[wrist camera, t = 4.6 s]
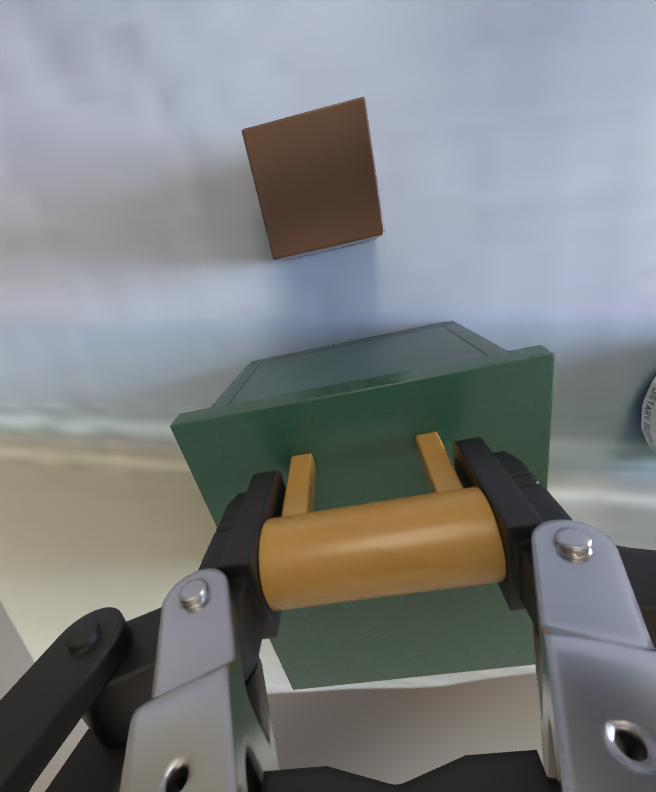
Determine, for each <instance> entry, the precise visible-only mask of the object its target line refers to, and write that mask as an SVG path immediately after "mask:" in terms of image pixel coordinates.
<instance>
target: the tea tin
mask: <svg viewBox="0 0 656 792" xmlns="http://www.w3.org/2000/svg"><path fill="white" fill-rule="evenodd" d="M502 352H507V350H505V349H503V348H502V347H500V346H498V345H496V344H494V343H492V342H491V341H489V340H487V339H485V338H483V337H482V336H480V335H478V334H476V333H474V332H472V331H471V330H469V329H467V328H465V327H463V326H462V325H460V324H458V323H456V322H454V321H450V322H445V323H440V324H435V325H430V326H425V327H420V328H415V329H410V330H405V331H400V332H395V333H390V334H385V335H381V336H376V337H371V338H366V339H361V340H356V341H351V342H346V343H341V344H336V345H331V346H326V347H321V348H316V349H311V350H307V351H302V352H297V353H292V354H287V355H282V356H277V357H272V358H267V359H262V360H257V361H252V362H251V363H250V364H249V365H248V366H247V367H246V368H245V369H244V370H243V371H242V373H241V374H240V375H239V376H238V377H237V378H236V379H235V380H234V382H233V383H232V384H231V385H230V386H229V387H228V388H227V390H226V391H225V392H224V393H223V394H222V395H221V396H220V398H219V399H218V400H217V401H216V402H215V403H214V404H213V405H212V407H211V408H214V407H220V406H225V405H230V404H235V403H241V402H246V401H251V400H256V399H262V398H267V397H272V396H277V395H282V394H288V393H293V392H298V391H303V390H309V389H314V388H319V387H324V386H329V385H335V384H340V383H345V382H350V381H356V380H361V379H366V378H371V377H376V376H382V375H387V374H392V373H397V372H403V371H408V370H413V369H418V368H423V367H429V366H434V365H439V364H444V363H450V362H455V361H460V360H465V359H471V358H476V357H481V356H486V355H491V354H497V353H502Z"/></svg>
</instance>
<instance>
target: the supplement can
mask: <svg viewBox="0 0 656 792" xmlns="http://www.w3.org/2000/svg"><path fill="white" fill-rule="evenodd" d="M641 429H642V432H643V434H644V436H645V438H646V441H647V443H648V445H649V447H650V448H651V449H652V450H654V451H655V452H656V377H655V378H654V379H653V380H652V382H651V384H650V387H649V389H648V391H647V394H646V396H645V398H644V400H643V405H642V418H641Z"/></svg>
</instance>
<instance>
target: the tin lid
mask: <svg viewBox="0 0 656 792" xmlns="http://www.w3.org/2000/svg"><path fill="white" fill-rule="evenodd" d="M554 356H555V355H554V353H553V352H551V351H549V350H548V349H546V348H545V347H543V346H541V345H538V346H533V347H528V348H523V349H518V350H512V351H507V352H502V353H497V354H491V355H486V356H481V357H476V358H471V359H465V360H460V361H455V362H450V363H444V364H439V365H434V366H429V367H423V368H418V369H413V370H408V371H403V372H397V373H392V374H387V375H382V376H376V377H371V378H366V379H361V380H356V381H350V382H345V383H340V384H335V385H329V386H324V387H319V388H314V389H309V390H303V391H298V392H293V393H288V394H282V395H277V396H272V397H267V398H262V399H256V400H251V401H246V402H241V403H235V404H230V405H225V406H220V407H214V408H209V409H204V410H199V411H194V412H188V413H183V414H179V415H178V416H177V418H176V419H175V420H174V422H173V423H172V424H171V426H170V427H171V429H172V432H173V434H174V436H175V438H176V440H177V442H178V444H179V446H180V449H181V451H182V453H183V455H184V457H185V459H186V461H187V464H188V466H189V468H190V470H191V472H192V474H193V476H194V479H195V481H196V483H197V485H198V487H199V489H200V491H201V493H202V496H203V498H204V500H205V502H206V504H207V506H208V508H209V511H210V513H211V515H212V517H213V519H214V521H215V523H216V526H217V527H218V525H219V523H220V521H221V518H222V516H223V514H224V511H225V509H226V507H227V505H228V504H229V503H230V502H231V501H232V500H233V499H234V498H235V497H236V496H237V495H238V494H239V493H244V492H247V489H248V487H249V484H250V482H251V479H252V476H253V475H254V474H257V473H263V472H269V471H275V470H279V471H280V473H281V475H282V478H283V481H284V484H285V488H286V493H285V499H284V505H283V510H282V516H281V517H275V518H270V519H268V520H266V521H265V523H264V525H263V527H262V530H261V534H260V541H259V554H258V558H259V574H260V581H261V587H262V591H263V595H264V598H265V600H266V603H267V605H268V606H269V608H270V609H271V610H274V611H280V610H282V612H281V618H280V624H279V630H278V636H277V637H276V638H269V639H270V641H271V643H272V645H273V647H274V650H275V652H276V654H277V656H278V658H279V660H280V662H281V664H282V667H283V669H284V671H285V673H286V675H287V677H288V679H289V682H290V684H291V686H292V688H293V690H295V689H305V688H314V687H324V686H333V685H343V684H352V683H362V682H371V681H381V680H390V679H400V678H409V677H419V676H428V675H438V674H447V673H457V672H466V671H476V670H485V669H495V668H504V667H514V666H523V665H532V664H535V653H534V641H533V622H532V620H531V618H530V616H529V614H528V612H527V610H526V609H523V610H514V611H510V609H509V607H508V605H507V602H506V600H505V598H504V596H503V594H502V592H501V590H500V588H499V585H498V582H503V581H504V580H505V578H506V558H505V551H504V546H503V542H502V538H501V534H500V531H499V527H498V524H497V521H496V518H495V516H494V513H493V511H492V508H491V506H490V504H489V502H488V500H487V498H486V496H485V495H484V493H483V492H482V491H481V489H480V488H478V487H468V488H464V487H463V485H462V483H461V481H460V479H459V477H458V475H457V473H456V471H455V468H454V458H453V447H452V445H453V441H457V440H463V439H469V438H475V437H481V438H482V439H483V441H484V442H485V443H486V444H487V446H488V447H489V448H490V450H491V451H492V452H493V453H494V452H500V451H505V452H507V453H509V454H511V455H513V456H515V457H517V458H518V459H520V460H521V461H522V462H523V463H524V464H525V465H526V467H527V468H528V469H529V470H530V471H531V474H533V475H534V476H535V477H536V478H537V479H538V481H539V483H540V484H542V485H543V486H544V487H545V489H546V490H547V479H548V462H549V444H550V427H551V409H552V392H553V374H554Z"/></svg>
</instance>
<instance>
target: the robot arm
mask: <svg viewBox="0 0 656 792" xmlns="http://www.w3.org/2000/svg"><path fill="white" fill-rule="evenodd" d="M452 447H453V458H454V468H455V471H456V473H457V475H458V477H459V479H460V481H461V483H462V485H463V487H464V488H468V487H478V488H480V489H481V491H482V492H483V493H484V495H485V496H486V498H487V500H488V502H489V504H490V506H491V508H492V511H493V513H494V516H495V518H496V521H497V524H498V527H499V531H500V534H501V538H502V542H503V546H504V551H505V558H506V578H505V580H504V581H503V582H498V585H499V588H500V590H501V592H502V594H503V596H504V598H505V600H506V602H507V605H508V607H509V609H510V611H514V610H523V609H526V610H527V612H528V614H529V616H530V618H531V620H532V622H533V641H534V653H535V664H536V675H537V687H538V698H539V709H540V720H541V730H542V731H541V732H542V748H543V765H542V762H541V760H540V757H539V755H538V752H537V750H529V751H515V752H503V753H491V754H479V755H478V754H477V755H465V756H463V757H461V758H459V759H457V760H454V761H452V762H450V763H448V764H446V765H443V766H441V767H439V768H436V769H435V770H432V771H430V772H428V773H426V774H423V775H421V776H419V777H416V778H414V779H412V780H410V781H408V782H405V783H403V784H397V785H393V784H388V783H385V782H381V781H378V780H374V779H370V778H367V777H363V776H360V775H356V774H353V773H349V772H346V771H342V770H339V769H335V768H331V767H328V766H324V767H310V768H299V769H285V770H281V768H280V765H279V761H278V756H277V752H276V747H275V740H274V734H273V729H272V722H271V717H270V710H269V704H268V698H267V692H266V686H265V680H264V674H263V668H262V663H261V660H260V658H259V651H260V646H261V641H262V639H267V638H276V637H277V636H278V630H279V624H280V618H281V612H282V610H280V611H274V610H271V609H270V608H269V606H268V605H267V603H266V600H265V598H264V595H263V591H262V587H261V581H260V574H259V558H258V554H259V541H260V534H261V530H262V527H263V525H264V523H265V521H266V520H268V519H270V518H275V517H281V516H282V510H283V505H284V499H285V493H286V488H285V484H284V481H283V478H282V475H281V473H280V471H279V470H275V471H269V472H263V473H257V474H254V475H253V476H252V479H251V482H250V484H249V487H248V489H247V492H244V493H239V494H238V495H237V496H236V497H235V498H234V499H233V500H232V501H231V502H230V503H229V504H228V505H227V507H226V509H225V511H224V514H223V516H222V518H221V521H220V523H219V525H218V527H217V529H216V530H217V532H215V534H214V536H213V538H212V540H211V543H210V545H209V547H208V549H207V552H206V554H205V556H204V558H203V561H202V563H201V565H200V567H199V570H198V571H196V572H194V573H192V574H190V575H188V576H186V577H185V578H183V579H182V580H181V581H179V582H178V583H177V584H176V585H175V586H174V587H173V588H172V589H171V590H170V592H169V593H168V594H167V596H166V598H165V599H164V602H163V604H162V607H161V608H159V609H157V610H154V611H152V612H149V613H147V614H144V615H142V616H139V617H137V618H135V619H132V620H130V621H127V622H126V620H125V619H124V617H123V615H122V613H121V612H120V611H119V610H118V609H116V608H112V607H107V608H102V609H98V610H95V611H93V612H91V613H89V614H87V615H85V616H83V617H82V618H80V619H79V620H77V621H76V622H74V623H73V624H72V625H71V626H69V627H68V628H67V629H66V630H65V631H64V632H63V633H62V634H61V635H60V636H59V637H58V638H57V639H56V640H55V641H54V643H53V644H52V645H51V646H50V647H49V648H48V649H47V650H46V651H45V652H44V653H43V655H42V656H41V657H40V658H39V659H38V660H37V661H36V662H35V663H34V664H33V665H32V667H31V668H30V669H29V670H28V671H27V672H26V673H25V674H24V675H23V676H22V677H21V678H20V680H19V681H18V682H17V683H16V684H15V685H14V686H13V687H12V688H11V689H10V690H9V692H8V693H7V694H6V695H5V696H4V697H3V698H2V699H1V700H0V792H29V791H30V789H31V787H32V786H33V784H34V783H35V781H36V780H37V779H38V777H39V776H40V774H41V773H42V772H43V770H44V769H45V767H46V766H47V765H48V763H49V762H50V760H51V759H52V758H53V756H54V755H55V754H56V752H57V751H58V749H59V748H60V747H61V745H62V744H63V742H64V741H65V740H66V738H67V737H68V735H69V734H70V733H71V731H72V730H73V729H74V727H75V726H76V724H77V723H78V721H79V720H80V719H81V717H82V719H83V720H84V721H85V723H86V724H87V726H88V727H89V729H88V730H87V732H86V733H85V735H84V736H83V737H82V739H81V740H80V742H79V743H78V745H77V746H76V748H75V749H74V751H73V752H72V753H71V755H70V756H69V758H68V759H67V761H66V762H65V764H64V765H63V766H62V768H61V769H60V771H59V772H58V774H57V775H56V777H55V778H54V779H53V781H52V782H51V784H50V785H49V787H48V788H47V790H46V791H45V792H656V551H655V550H645V549H635V548H627V547H622V546H617V545H615V544H614V542H613V541H612V540H611V539H610V538H609V537H608V536H607V535H606V534H604V533H603V532H601V531H600V530H598V529H596V528H594V527H592V526H590V525H587V524H584V523H581V522H577V521H573V520H572V519H571V518H570V516H569V515H568V514H567V513H566V512H565V511H564V510H563V508H562V507H561V506H560V505H559V504H558V503H557V501H556V500H555V499H554V498H553V497H552V496H551V494H550V493H549V492H548V491H547V490H546V489H545V487H544V486H543V485H542V484H540V483H539V481H538V479H537V478H536V477H535V476H534V475H533V474H531V471H530V470H529V469H528V468H527V467H526V465H525V464H524V463H523V462H522V461H521V460H520V459H518V458H517V457H515V456H513V455H511V454H509V453H507V452H505V451H500V452H494V453H493V452H492V451H491V450H490V448H489V447H488V446H487V444H486V443H485V442H484V441H483V439H482V438H481V437H475V438H469V439H463V440H457V441H453V445H452Z"/></svg>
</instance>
